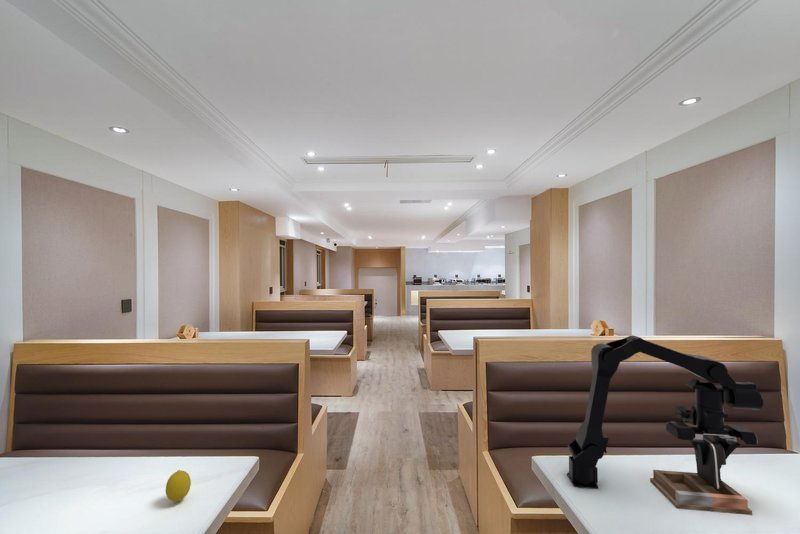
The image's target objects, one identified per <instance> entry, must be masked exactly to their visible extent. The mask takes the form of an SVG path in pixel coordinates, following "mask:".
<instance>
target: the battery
mask: <svg viewBox="0 0 800 534" xmlns="http://www.w3.org/2000/svg"><path fill="white" fill-rule="evenodd" d="M703 440H704V441H705V442H707V452H706V461H705V464H704V465H702V464H701V463H700V461H699V459H698V457H697V454H696V452H695V451H694V456H695V463H696V473H697V475H698V476H700V477H701V478H702V479H703V480H704V481H705V482H707V483H708V484H709V485H711V486H712V487H713V488H717V489H719V488H725V484H723V483H722V481H723V480H722V478H721V468H723V466H726V465H727V459H726V457H725V451H724V448H723V446H722V445H721V444H720V443H718V442H717V441H715V439H714V438H712V437H711V436H705V435H703ZM721 480H722V481H721Z"/></svg>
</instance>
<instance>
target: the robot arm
mask: <svg viewBox="0 0 800 534" xmlns="http://www.w3.org/2000/svg"><path fill="white" fill-rule="evenodd" d="M639 353H641V354H643V355H648V356H650V357H653V358H655V359H658V360H661V361H664V362H667V363H669V364H673V365H676V366H678V367H680V368H682V369H683V370H685V371H688V372H689V373H691V374H693V375H695V376H697V377H699V378H701V379H704V380H705V381H700V380H699V379H698V378H695V377H693V378H692V379H691V380H689V381H687V382H685V385H686V386H688V387H690V388H691V389H693V390H695V405H694V404H692V406H691V409H687V408H686V406H680V405H679V406H678V405H676V406H674V414H675V417H676V418H677V419H682V420H683V421H672V420H668V421H667V423H666V424H665V431H667V432H668V433H669V434H671V435H672V436H674V437H675V438H677V439H679V440H683V441H684V440H685V441H690V444H691V445H692V447H693V450H694V453H695V452H696V454H697V457H698V459H699V461H700V463H701V464H702V465H704V464H705V461H706V452H707V442H705V441H704V440H703V436H708V437H713V440H715V441H717V442H718V443H720V444H721V445H722V446H723V448H724V451H725V457H726V460H727V459H728V458H729V456H730V455H731V454H732V453H733V452H734V451H735V450H736V449H737V448H739V447H741V445H742V444H741V443H740V442H738V441H737V438H738V439H740V441H741V442H742V443H743V444H745V445H753V446H756V445H758V442H759V441H758V436H757V435H756V433H755V432H754V431H752V430H751V429H748V428H746V427H745V426H742V425H738V424H725V419H729V414H728V413H726V412H725V408H724V407H725V406H724V405H725V404H726V406H728V408H732V409H739V410H740V409H741V410H742V409H743V410H753V411H754V410H755V411H759V410H762V408H763V406H764V399H763V397H762V394H761V393H760V391H759V389H757V385H756V384H755V383H754V382H751V381H743V382H742V381H741V382H739V381H735V380H734V379H733V378H732V376H730V374H729V372H728V368H727V366H726V364H724V363H722V362H720V361H718V360H715V359H712V358H709V357H706V356H702V355H696V354H691V353H684V352H680V351H678V350H674V349H671V348H668V347H665V346H663V345H661V344H657V343H654V342H653V341H652V342H651V341H649V340H646V339H643V338H641V337H639V336H636V335H629V336H626V337H624V338H621V339H620V338H619V339H617V340H612V341H609V342H607V343H603V342H602V343H597V344H595V345H593V347H592V349H591V354H590V355H591V356H590V357H591V360H590V361H591V367H592V377H591V385H590V390H589V395H588V400H587V405H586V412H585V418H584V421H583V422H582V423H581V425H580V426H579V428H578V431H577V432H576V436H575V438H574V439H573V440H572V441H571V442H570V443H568V444H567V448H568V450H569V453H570V454H571V455H569V456H568V472H567V474H566V475H567V477H568V479H569V481H570V482H571V484H572V486H574V488H575V487H576V488H577V487H578V488H588V489H599V485H598V482H599V479H598V477H599V476H598V474H599V471H598V467H597V464H598V461H599V460H601V459H602V458H603V457H604V455H605V454H607V453H608V451H607V446H608V443H609V437H608V436H607V435H606V434H605V432H604V431H603V425H604V424H603V423H604V419H605V412H606V407H607V401H608V397H609V391H610V390H609V389H610V384H611V380H612V378H613V377H614V375H616V372H617V371H618V368H619V367H620V363H621V362H623V361H626V360H628V359H630V358H631V357H633V356H634V355H637V354H639ZM715 384H718V385H715ZM685 422H686V423H688V422H689V423H690V424H691V425H692V426H689V425H688V424H686V423H685Z"/></svg>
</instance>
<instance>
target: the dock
mask: <svg viewBox="0 0 800 534" xmlns="http://www.w3.org/2000/svg"><path fill="white" fill-rule="evenodd" d="M652 471H653V473H652V475H653V477H649V481H650V483H651V484H652V485H653V486H654V487H655V488H656V489H657V490H658V491H659V492H660V493H661V494H662V496H664V497H665V498H666V499H667V500H668V501H669V503H671V504H672V506H674V508H676V509H679V510H692V511H700V512H702V511H703V512H713V513H714V512H716V513H727V514H737V515H738V514H740V515H750V516H753V509H751V508H749V504H748V503H749V501H748V500H749V499H748V498H746V497H745V496H743V495H742V494H741V493H740V492H738V491H737V490H735V489H734V488H732V487H731V486H730V485H729V484H727V483H726V482H725V481H723V480H722V479H721V481H722V483H723V484H725V488H719V489H717V488H713V487H712V486H711V485H709V484H708V483H707V482H705V481H704V480H703V479H702V478H701V477H700V476H698V475H697V472H689V471H676V470H675V471H674V470H663V469H662V470H661V469H660V470H659V469H653V470H652Z"/></svg>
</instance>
